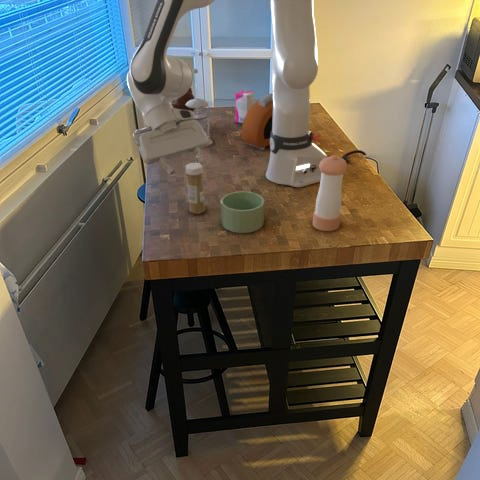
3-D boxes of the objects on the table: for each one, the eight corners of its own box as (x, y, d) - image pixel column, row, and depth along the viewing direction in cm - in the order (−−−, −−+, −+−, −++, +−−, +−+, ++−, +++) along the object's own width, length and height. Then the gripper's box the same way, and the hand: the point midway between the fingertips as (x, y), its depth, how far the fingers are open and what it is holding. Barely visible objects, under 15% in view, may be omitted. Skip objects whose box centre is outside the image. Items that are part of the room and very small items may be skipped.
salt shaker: (307, 224, 129) (313, 155, 117) (323, 215, 133) (331, 147, 121) (328, 234, 126) (337, 163, 113) (344, 224, 129) (355, 155, 117)
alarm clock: (256, 153, 169) (257, 103, 158) (240, 146, 174) (240, 98, 164) (303, 138, 180) (306, 91, 169) (286, 132, 186) (289, 85, 175)
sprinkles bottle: (208, 211, 136) (205, 166, 127) (194, 216, 134) (190, 170, 125) (200, 205, 139) (197, 160, 130) (186, 209, 137) (182, 164, 128)
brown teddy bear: (169, 122, 195) (165, 83, 185) (195, 119, 198) (193, 80, 188) (174, 131, 187) (170, 90, 178) (201, 128, 190) (199, 87, 180)
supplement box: (254, 121, 196) (254, 91, 188) (247, 125, 192) (247, 95, 184) (242, 119, 198) (242, 89, 190) (235, 123, 194) (234, 93, 187)
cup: (254, 209, 136) (255, 188, 132) (270, 228, 128) (270, 206, 124) (216, 216, 133) (215, 195, 129) (229, 236, 125) (228, 214, 121)
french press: (181, 143, 177) (174, 70, 161) (200, 134, 184) (195, 63, 168) (202, 149, 173) (197, 73, 156) (220, 139, 180) (218, 66, 164)
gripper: (132, 125, 123) (157, 173, 124) (197, 109, 133) (219, 154, 133) (127, 138, 129) (150, 184, 129) (189, 122, 138) (210, 164, 139)
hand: (186, 168), depth 131 cm, fingers open, 8 cm apart
